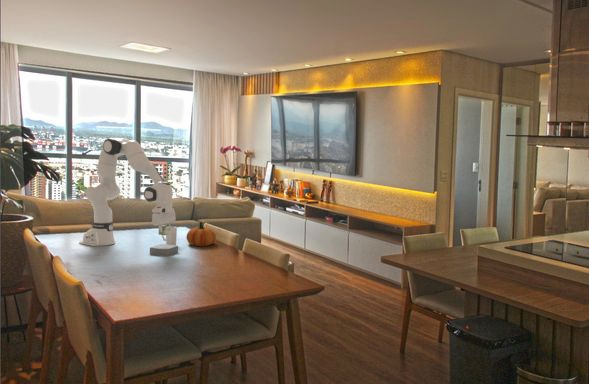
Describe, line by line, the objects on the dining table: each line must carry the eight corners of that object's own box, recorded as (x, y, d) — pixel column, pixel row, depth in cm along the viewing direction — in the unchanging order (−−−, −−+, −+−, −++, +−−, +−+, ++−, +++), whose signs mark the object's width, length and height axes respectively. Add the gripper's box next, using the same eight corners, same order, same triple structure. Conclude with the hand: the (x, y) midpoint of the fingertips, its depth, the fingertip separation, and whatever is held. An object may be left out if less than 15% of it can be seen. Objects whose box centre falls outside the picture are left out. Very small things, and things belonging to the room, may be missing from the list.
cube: (158, 234, 301) (158, 226, 301) (163, 233, 306) (163, 225, 306) (165, 235, 300) (165, 226, 299) (170, 233, 304) (170, 225, 304)
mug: (178, 245, 329) (178, 226, 328) (173, 246, 323) (173, 228, 321) (164, 243, 331) (164, 225, 330) (159, 245, 325) (159, 227, 324)
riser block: (149, 254, 300) (149, 247, 300) (161, 250, 311) (161, 243, 311) (167, 256, 296) (167, 249, 296) (178, 252, 308) (178, 245, 307)
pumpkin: (206, 248, 321) (206, 225, 319) (180, 245, 327) (180, 223, 326) (221, 243, 339) (221, 221, 337) (196, 240, 345) (196, 219, 344)
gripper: (169, 206, 312) (169, 228, 313) (150, 209, 293) (150, 233, 294) (178, 206, 310) (178, 229, 311) (159, 210, 291) (159, 234, 292)
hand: (164, 231), depth 303 cm, fingers closed on cube, 5 cm apart
